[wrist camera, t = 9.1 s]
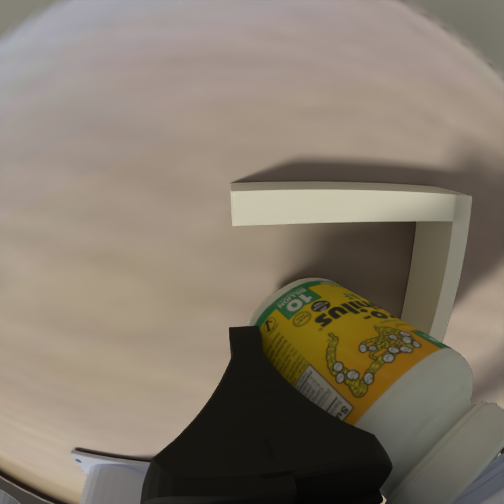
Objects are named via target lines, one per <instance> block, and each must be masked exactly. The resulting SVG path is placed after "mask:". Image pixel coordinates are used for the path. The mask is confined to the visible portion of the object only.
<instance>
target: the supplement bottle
mask: <svg viewBox="0 0 504 504" xmlns="http://www.w3.org/2000/svg"><path fill="white" fill-rule="evenodd" d="M256 325H258V327H259V330H260V333H261V338H262V352H263V353H264V354H265V356H266V357H267V358H268V360H269V361H270V362H271V363H272V365H273V366H274V367H275V368H276V369H277V370H278V371H279V373H280V374H281V375H282V376H283V377H284V378H285V379H286V380H287V381H288V382H289V383H290V384H291V385H292V386H293V387H295V388H296V389H297V390H298V391H299V392H300V393H302V394H303V395H304V396H305V397H307V398H308V399H309V400H310V401H312V402H313V403H315V404H316V405H318V406H319V407H321V408H322V409H324V410H325V411H327V412H328V413H330V414H331V415H333V416H335V417H337V418H338V419H340V420H342V421H344V422H346V423H348V424H350V425H353V426H355V427H357V428H360V429H362V430H364V431H367V432H369V433H372V434H374V435H375V436H376V438H377V439H378V440H379V442H380V443H381V445H382V446H383V448H384V449H385V451H386V452H387V454H388V456H389V458H390V460H391V462H392V466H393V469H392V471H391V473H390V475H389V477H388V478H387V480H386V481H385V483H384V484H383V485H382V487H381V488H380V489H379V490H380V493H381V494H382V495H383V496H384V497H385V498H386V500H387V501H386V503H385V504H452V503H453V502H454V501H455V500H456V499H457V498H458V497H459V496H460V495H461V494H462V493H463V492H464V491H465V490H466V489H467V488H468V487H469V486H470V485H471V484H472V483H473V482H474V481H475V479H476V478H477V477H478V476H479V475H480V474H481V473H482V472H483V470H484V469H485V468H486V467H487V466H488V465H489V463H490V462H491V461H492V460H494V459H495V458H496V457H497V456H498V454H499V453H500V452H501V450H502V449H503V448H504V409H502V408H501V407H499V406H498V405H497V404H496V403H487V402H481V403H479V404H478V405H475V404H474V403H472V402H471V401H470V399H471V396H472V391H473V375H472V371H471V368H470V366H469V364H468V362H467V361H466V359H465V358H464V357H463V356H462V355H461V354H459V353H458V352H456V351H455V350H453V349H452V348H450V347H448V346H446V345H445V344H443V343H441V342H440V341H438V340H436V339H435V338H433V337H431V336H429V335H428V334H426V333H424V332H422V331H421V330H419V329H417V328H415V327H414V326H412V325H410V324H408V323H407V322H405V321H403V320H400V319H398V318H397V317H396V316H394V315H392V314H391V313H389V312H387V311H386V310H384V309H382V308H380V307H378V306H376V305H374V304H373V303H371V302H369V301H368V300H366V299H364V298H362V297H360V296H359V295H357V294H355V293H353V292H352V291H350V290H348V289H346V288H345V287H343V286H341V285H339V284H337V283H336V282H334V281H331V280H328V279H324V278H304V279H300V280H296V281H294V282H292V283H290V284H288V285H286V286H284V287H283V288H281V289H279V290H278V291H276V292H275V293H273V294H272V295H270V296H269V297H268V298H267V299H265V300H264V301H263V302H262V304H261V305H260V306H259V307H258V308H257V310H256V311H255V312H254V313H253V315H252V316H251V318H250V320H249V323H248V325H247V326H256Z"/></svg>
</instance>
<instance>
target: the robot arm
mask: <svg viewBox="0 0 504 504" xmlns="http://www.w3.org/2000/svg"><path fill="white" fill-rule="evenodd" d="M229 339H230V349H231V360H230V362H229V365H228V367H227V369H226V371H225V373H224V375H223V377H222V379H221V381H220V383H219V385H218V386H217V388H216V390H215V391H214V393H213V394H212V396H211V398H210V399H209V401H208V402H207V403H206V405H205V406H204V407H203V409H202V410H201V411H200V413H199V414H198V415H197V416H196V418H195V419H194V420H193V421H192V422H191V423H190V424H189V425H188V426H187V428H186V429H185V430H184V431H183V432H182V433H181V434H180V435H179V436H178V437H177V438H176V439H175V440H174V441H173V442H171V443H170V444H169V445H168V446H167V447H165V448H164V449H163V450H162V451H161V452H160V453H158V454H157V455H156V456H155V457H153V458H152V460H151V462H143V461H134V460H126V459H119V458H112V457H106V456H101V455H95V454H90V453H85V452H80V451H76V450H72V451H71V453H70V456H71V457H72V458H73V460H74V461H75V462H76V463H77V465H78V466H79V467H80V468H81V470H82V471H83V472H84V473H85V474H86V476H87V478H86V481H85V485H84V488H83V492H82V496H81V499H80V503H79V504H380V503H382V502H383V497H382V495H381V493H380V490H379V489H380V488H381V487H382V485H383V484H384V483H385V481H386V480H387V478H388V477H389V475H390V473H391V471H392V469H393V466H392V462H391V460H390V458H389V456H388V454H387V452H386V451H385V449H384V448H383V446H382V445H381V443H380V442H379V440H378V439H377V438H376V436H375V435H374V434H372V433H369V432H367V431H364V430H362V429H360V428H357V427H355V426H353V425H350V424H348V423H346V422H344V421H342V420H340V419H338V418H337V417H335V416H333V415H331V414H330V413H328V412H327V411H325V410H324V409H322V408H321V407H319V406H318V405H316V404H315V403H313V402H312V401H310V400H309V399H308V398H307V397H305V396H304V395H303V394H302V393H300V392H299V391H298V390H297V389H296V388H295V387H293V386H292V385H291V384H290V383H289V382H288V381H287V380H286V379H285V378H284V377H283V376H282V375H281V374H280V373H279V371H278V370H277V369H276V368H275V367H274V366H273V365H272V363H271V362H270V361H269V360H268V358H267V357H266V356H265V354H264V353H263V352H262V338H261V333H260V330H259V327H258V325H256V326H244V327H229ZM0 504H20V503H19V502H18V501H17V500H16V499H14V498H13V497H12V496H10V495H9V494H7V493H6V492H4V491H2V490H1V489H0ZM452 504H504V453H502V454H501V455H500V456H498V457H497V458H495V459H494V460H492V461H491V462H490V463H489V465H488V466H487V467H486V468H485V469H484V470H483V472H482V473H481V474H480V475H479V476H478V477H477V478H476V479H475V481H474V482H473V483H472V484H471V485H470V486H469V487H468V488H467V489H466V490H465V491H464V492H463V493H462V494H461V495H460V496H459V497H458V498H457V499H456V500H455V501H454V502H453V503H452Z"/></svg>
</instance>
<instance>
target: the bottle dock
mask: <svg viewBox="0 0 504 504" xmlns="http://www.w3.org/2000/svg"><path fill="white" fill-rule="evenodd" d="M230 196H231V215H232V226H246V225H271V224H299V223H334V222H391V221H416V230H415V238H414V246H413V253H412V260H411V267H410V273H409V279H408V284H407V290H406V295H405V300H404V305H403V310H402V314H401V319H400V320H403V321H405V322H407V323H408V324H410V325H412V326H414V327H415V328H417V329H419V330H421V331H422V332H424V333H426V334H428V335H429V336H431V337H433V338H435V339H436V340H438V341H440V342H441V343H442V341H443V338H444V335H445V332H446V329H447V325H448V322H449V319H450V315H451V312H452V308H453V304H454V300H455V296H456V292H457V288H458V284H459V280H460V275H461V270H462V266H463V260H464V255H465V249H466V244H467V237H468V230H469V223H470V215H471V206H472V196H470V195H467V194H463V193H459V192H456V191H452V190H448V189H444V188H440V187H436V186H423V185H408V184H391V183H367V182H323V181H291V182H245V183H230Z"/></svg>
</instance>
